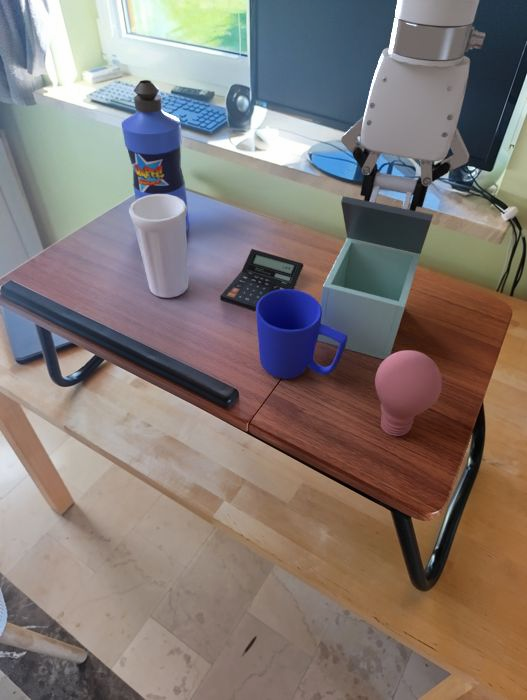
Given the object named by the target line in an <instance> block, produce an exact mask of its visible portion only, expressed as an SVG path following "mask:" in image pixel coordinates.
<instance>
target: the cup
mask: <svg viewBox="0 0 527 700" xmlns="http://www.w3.org/2000/svg"><path fill="white" fill-rule="evenodd" d="M187 209H188V205H187V206H186V205H185V203H184V201H183V200H181V199H180V198H178V197H176V196H172V195H168V194H154V195H147V196H144V197H142V198H139V199H137V200H136V199H135V200H134V201H133V202H132V203H131V204H130V206H129V208H128V212H129V216H130V218H131V221H132V223H133V227H134V231H135V235H136V239H137V243H138V246H139V250H140V255H141V260H142V263H143V267H144V272H145V276H146V279H147V283H148V287H149V290H150V292H151V293H152V294H153V295H154V296H156V297H160V298H167V299H170V298H174V297H178V296H181V295H182V294H184V293H185V292H186V291H187V290H188V288H189V265H188V264H189V263H188V244H187V243H188V241H187V232H186V219H185V218H186V212H187Z"/></svg>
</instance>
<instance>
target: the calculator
mask: <svg viewBox="0 0 527 700" xmlns="http://www.w3.org/2000/svg"><path fill="white" fill-rule="evenodd" d="M303 268H304V263H303V262H299V261H297V260H293V259H289V258H286V257H281V256H278V255H275V254H272V253H268V252H264V251H261V250H257V249H253V248H251V249H250V251H249V254H248V256H247V258H246V260H245V262H244V265H243V267H242V269H241V271H240V272H239V274H237V276H236V277H235V278H234V279H233V280H232V281H231V283H230V284H229V285H228V286H227V287H226V288H225V290H224V291H223V292H222V293H221V294H220V296H219V297H220V298H219V299H220V301H223V302H225V303H229V304H231V305H233V306H238V307H241V308H244V309H247V310H250V311H253V312H256V306H257V304H258V302H259V300H260V299H261V298H262V297H263V296H264V295H266V294H268V293H270V292H272V291H276V290H281V289H292V290H295V287H296V284H297V282H298V280H299V277H300V275H301V273H302V270H303Z"/></svg>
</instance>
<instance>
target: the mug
mask: <svg viewBox="0 0 527 700" xmlns="http://www.w3.org/2000/svg"><path fill="white" fill-rule="evenodd" d="M255 315H256V317H255V318H256V328H257V342H258V343H257V344H258V355H259V361H260V364H261V366H262V368H263V369H264V371H265V372H266V373H267V374H269V375H270V376H272V377H273V378H274V377H275V378H277V379H282V380H291V379H294V378H297V377H300V376H301V375H302V374H303V373H304V372H306V371H307V369H308V368H309V369H310V370H311V371H313V372H314V373H316V374H318V375H321V376H327V375H329V374H332V372H334V371H335V369H336V368H337V367H338V365H339V363H340V361H341V359H342V357H343V354H344V352H345V346H346V342H347V338H348V337H347V335H346V334H344V333H342V332H340V331H338V330H336V329H333V328H331V327H329V326H326V325H322V324H321V317H322V309H321V306H320V303H319V301H318V300H317V299H316V298H315V297H314V296H312V295H311V294H309V293H307V292H305V291H301V290H299V289H298V290H297V289H293V290H292V289H281V290H276V291H272V292H270V293H268V294H266V295H264V296H263V297H262V298H261V299H260V300H259V302H258V304H257V306H256V311H255ZM319 335H325V336H327V337H330V338H332V339H334V340H336V341H338V342H339V347H338V346H337V351H336V354H335V357H334V359H333V362H332V363H331V364H330V365H329V366H322V365H320V364H318V363H317V362H315V358H314V357H315V356H314V355H315V351H316V347H317V342H318V341H317V339H318V336H319Z"/></svg>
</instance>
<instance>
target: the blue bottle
mask: <svg viewBox="0 0 527 700" xmlns="http://www.w3.org/2000/svg"><path fill="white" fill-rule="evenodd" d="M133 92H134V94H136V95H135V96H134V97H133V101H134V102H133V103H134V108H135V110H136V111H135V113H134V114H132V115H130V116H128V117H126V118H124V120H122V122H121V129H122V136H123V140H124V146H125V147H126V150H127V154H128V157H129V160H130V163H131V164H130V165H131V167H132V182H133V183H132V185H133V192H134V197H135V201H136V200H137V199H139V198H142V197H144V196H147V195H154V194H168V195H172V196H176V197H178V198H180V199H181V200H183V201H184V203H185V205H186V206H187V207H188V201H187V190H186V181H185V177H184V174H183V170H182V143H183V139H182V127H181V126H182V125H181V121H180V119H179V118H178V117H176V116H174V115H172V114H169V113H167V112H165V111H164V110H162V109H163V99H162V96H161V95H160V94H158V93H159V92H160V88H159V87H158V86H157V85H156V84H155V83H154V82H153V81H151V80H149V79H142V80H140V81H138V83H137V85H136V86H135V87H134V89H133ZM188 211H189V210H188V208H187V212H186V218H185V219H186V233H187V232H189V231H188V230H189V229H190V222H189V221H190V220H189V213H188Z"/></svg>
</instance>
